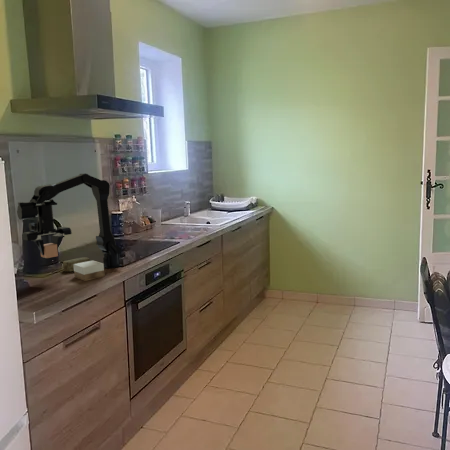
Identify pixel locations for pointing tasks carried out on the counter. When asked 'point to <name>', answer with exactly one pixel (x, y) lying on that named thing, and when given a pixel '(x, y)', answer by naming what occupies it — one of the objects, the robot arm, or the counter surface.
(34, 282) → the counter surface
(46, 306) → the counter surface
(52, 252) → the cube
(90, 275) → the tower bottom
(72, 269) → the stone block
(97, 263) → the tower top
